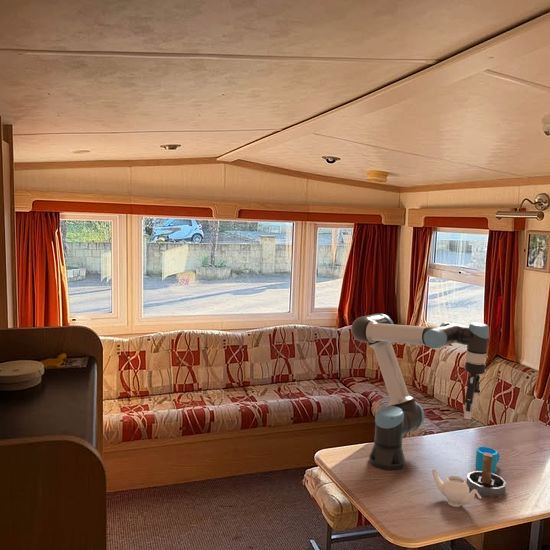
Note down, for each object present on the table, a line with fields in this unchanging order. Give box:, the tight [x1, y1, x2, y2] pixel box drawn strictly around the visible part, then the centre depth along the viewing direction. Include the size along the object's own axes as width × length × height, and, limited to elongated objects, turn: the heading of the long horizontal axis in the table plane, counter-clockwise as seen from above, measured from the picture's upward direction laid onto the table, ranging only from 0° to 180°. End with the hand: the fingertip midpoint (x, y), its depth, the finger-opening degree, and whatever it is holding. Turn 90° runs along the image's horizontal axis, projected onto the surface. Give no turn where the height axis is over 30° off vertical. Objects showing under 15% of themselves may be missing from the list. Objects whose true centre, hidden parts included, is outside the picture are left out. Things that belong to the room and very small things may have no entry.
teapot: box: [431, 469, 482, 508], centre depth 198 cm, size 10×20×9 cm, turn 42°
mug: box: [475, 446, 500, 474], centre depth 228 cm, size 12×8×8 cm
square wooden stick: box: [482, 452, 493, 484], centre depth 210 cm, size 3×3×13 cm
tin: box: [466, 470, 507, 498], centre depth 211 cm, size 14×14×4 cm
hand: (470, 413), depth 216 cm, fingers open, 13 cm apart
